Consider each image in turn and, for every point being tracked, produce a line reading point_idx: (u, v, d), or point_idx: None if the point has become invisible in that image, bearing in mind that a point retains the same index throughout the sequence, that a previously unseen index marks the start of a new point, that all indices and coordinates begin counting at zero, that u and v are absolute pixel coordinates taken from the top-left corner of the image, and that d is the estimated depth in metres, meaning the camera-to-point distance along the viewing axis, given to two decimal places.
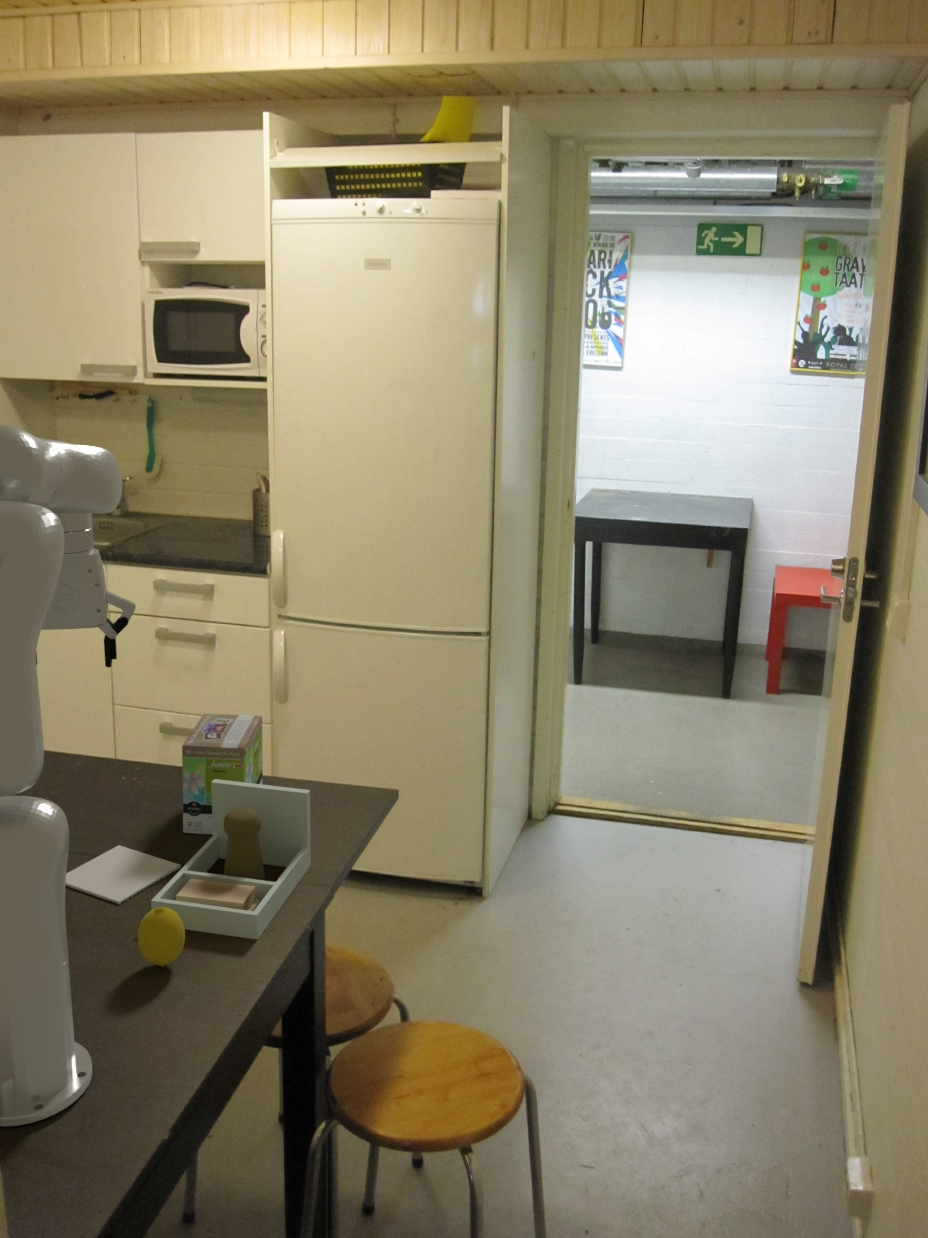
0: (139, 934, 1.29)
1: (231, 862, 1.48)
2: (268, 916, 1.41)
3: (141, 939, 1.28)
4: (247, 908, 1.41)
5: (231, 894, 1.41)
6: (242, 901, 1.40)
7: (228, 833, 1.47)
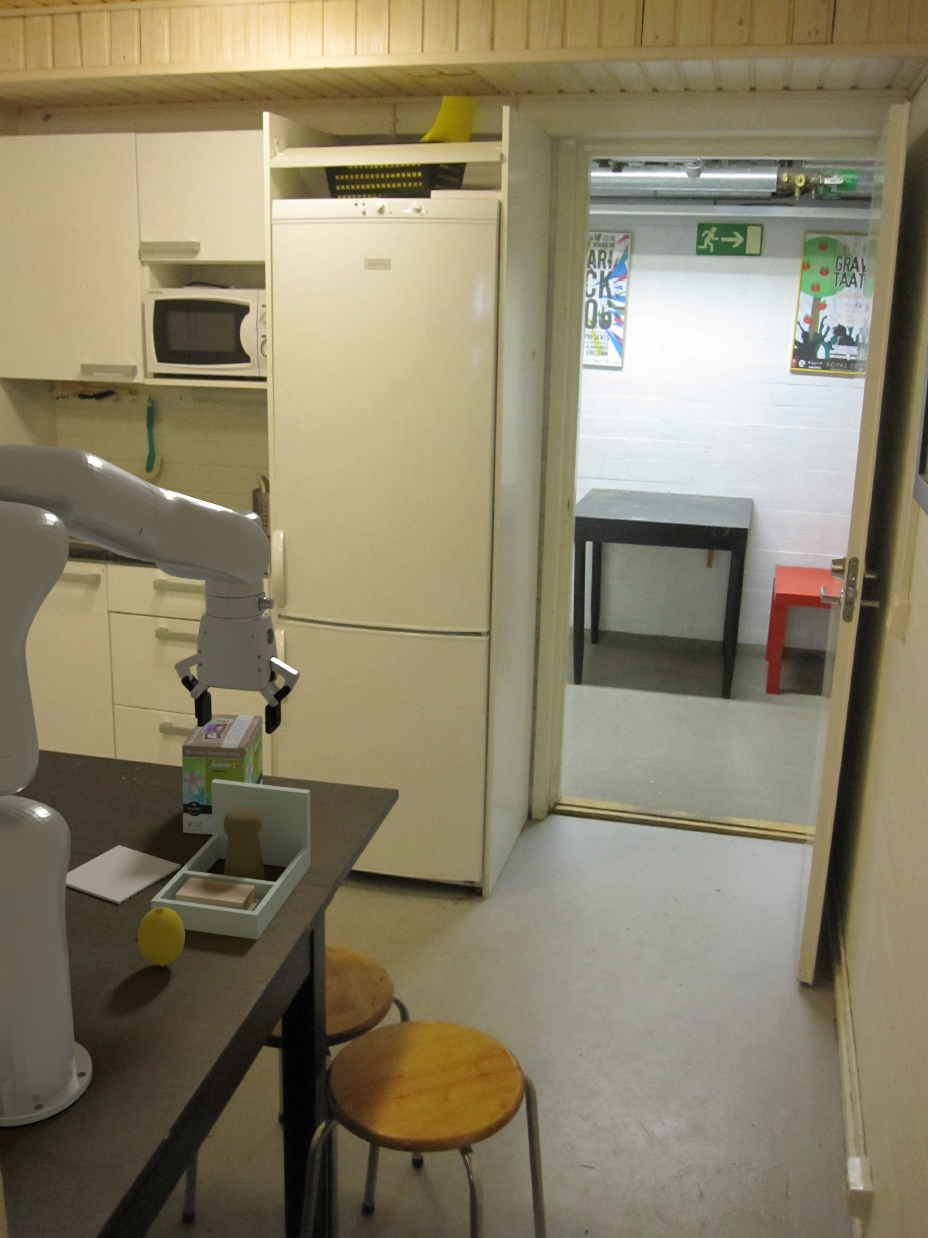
0: (139, 934, 1.29)
1: (231, 862, 1.48)
2: (268, 916, 1.41)
3: (141, 939, 1.28)
4: (246, 908, 1.41)
5: (230, 893, 1.41)
6: (241, 900, 1.40)
7: (228, 833, 1.47)
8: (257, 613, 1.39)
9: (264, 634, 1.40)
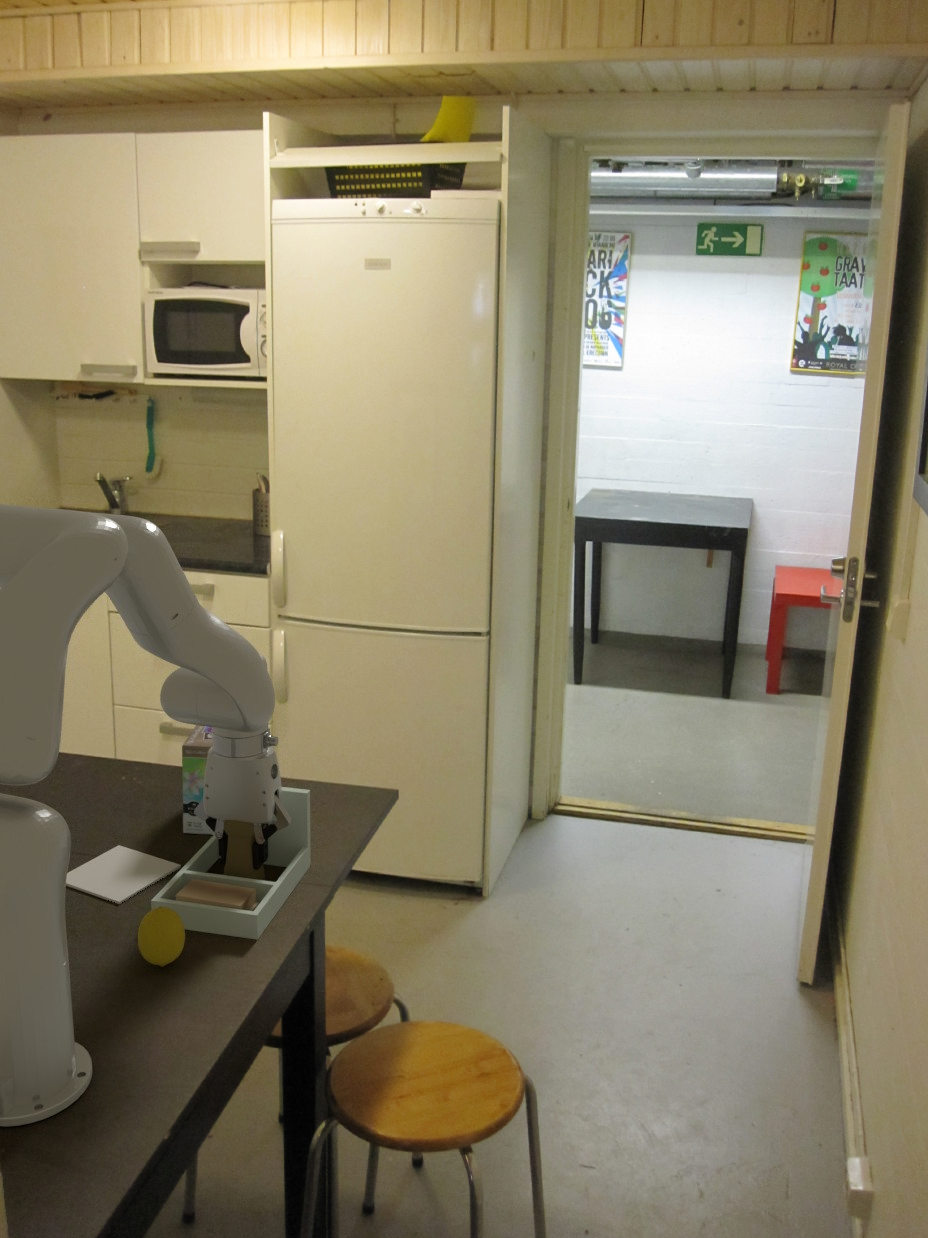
0: (139, 934, 1.29)
1: (231, 862, 1.48)
2: (268, 916, 1.41)
3: (141, 939, 1.28)
4: None
5: (230, 895, 1.41)
6: (240, 903, 1.39)
7: (228, 833, 1.47)
8: (262, 751, 1.44)
9: (269, 771, 1.45)
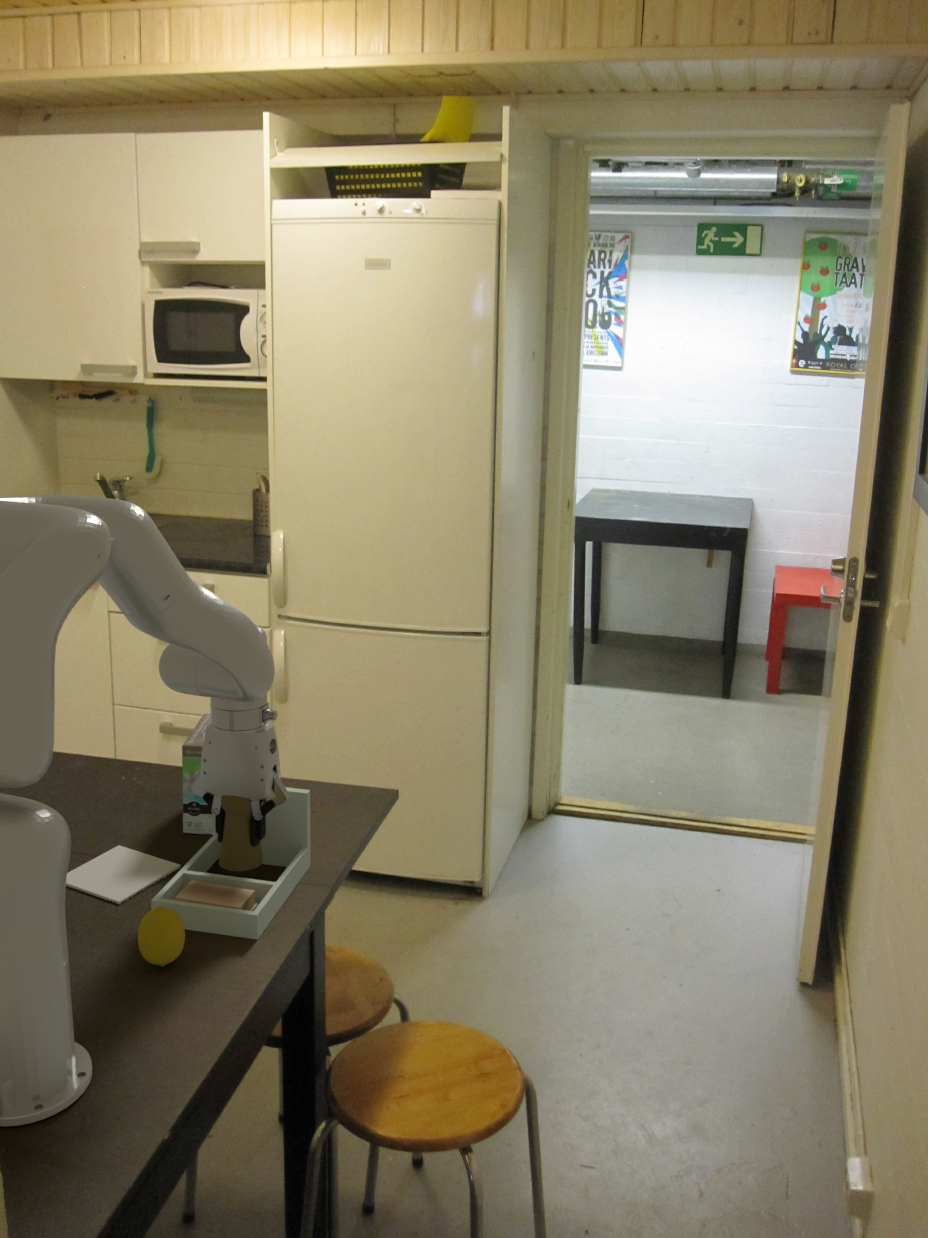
0: (139, 934, 1.29)
1: (228, 838, 1.47)
2: (268, 916, 1.41)
3: (141, 939, 1.28)
4: None
5: (229, 897, 1.41)
6: (239, 905, 1.39)
7: (225, 808, 1.46)
8: (261, 725, 1.43)
9: (267, 745, 1.43)
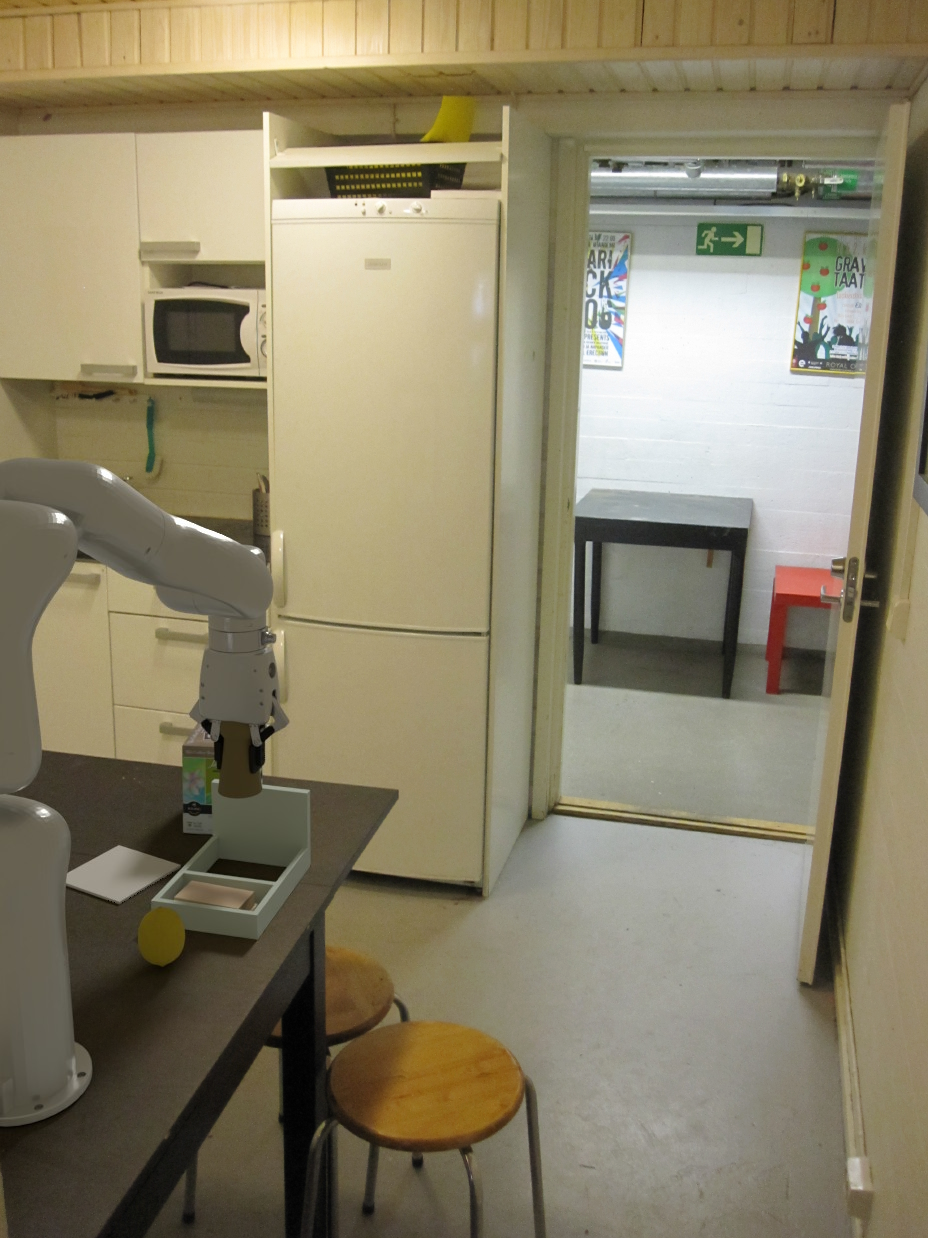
0: (139, 934, 1.29)
1: (226, 765, 1.44)
2: (268, 916, 1.41)
3: (141, 939, 1.28)
4: None
5: (228, 898, 1.40)
6: (238, 906, 1.39)
7: (224, 734, 1.43)
8: (259, 647, 1.40)
9: (266, 668, 1.41)
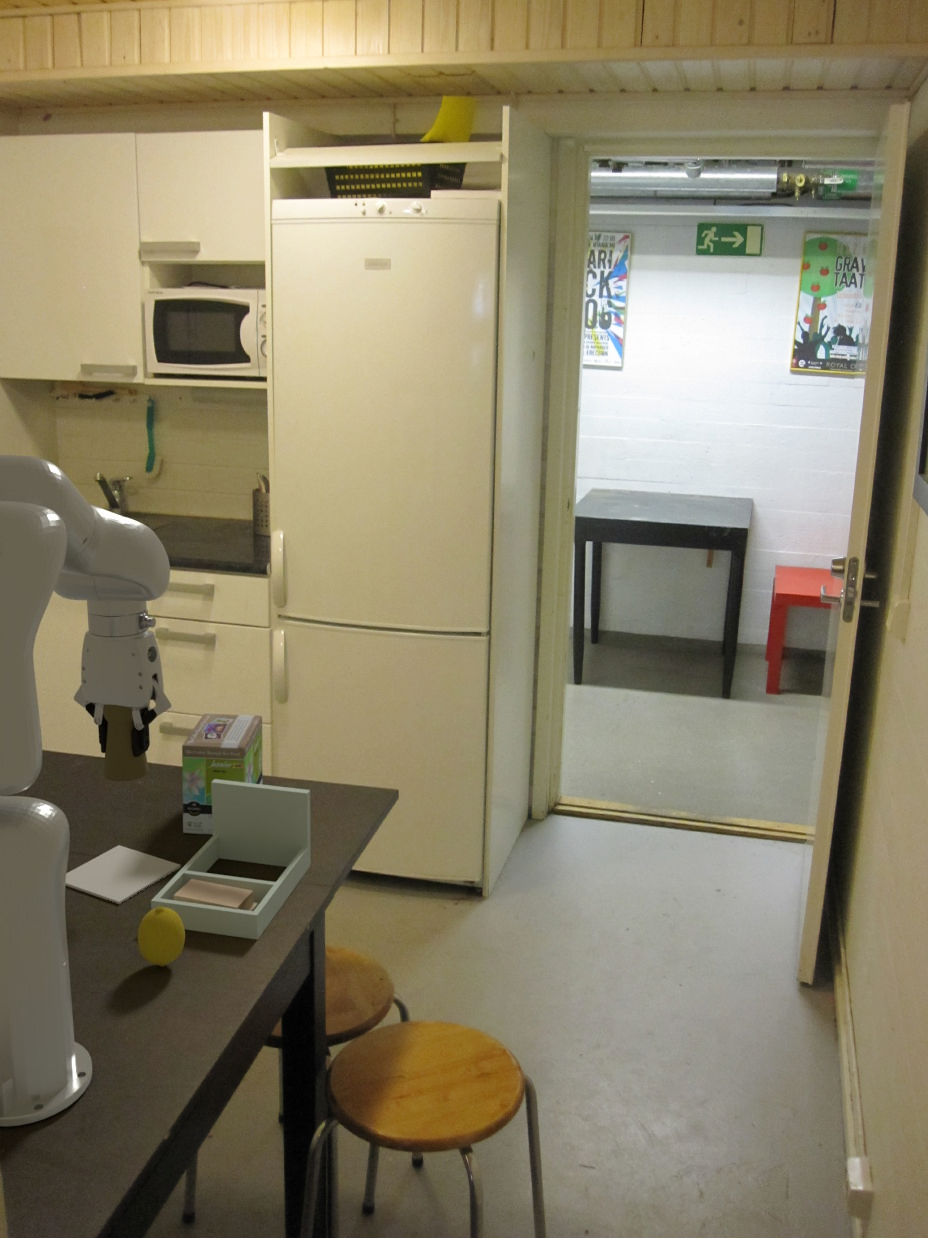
0: (139, 934, 1.29)
1: (110, 748, 1.45)
2: (268, 916, 1.41)
3: (141, 939, 1.28)
4: None
5: (227, 897, 1.41)
6: (236, 905, 1.39)
7: (106, 717, 1.44)
8: (138, 631, 1.41)
9: (145, 652, 1.42)
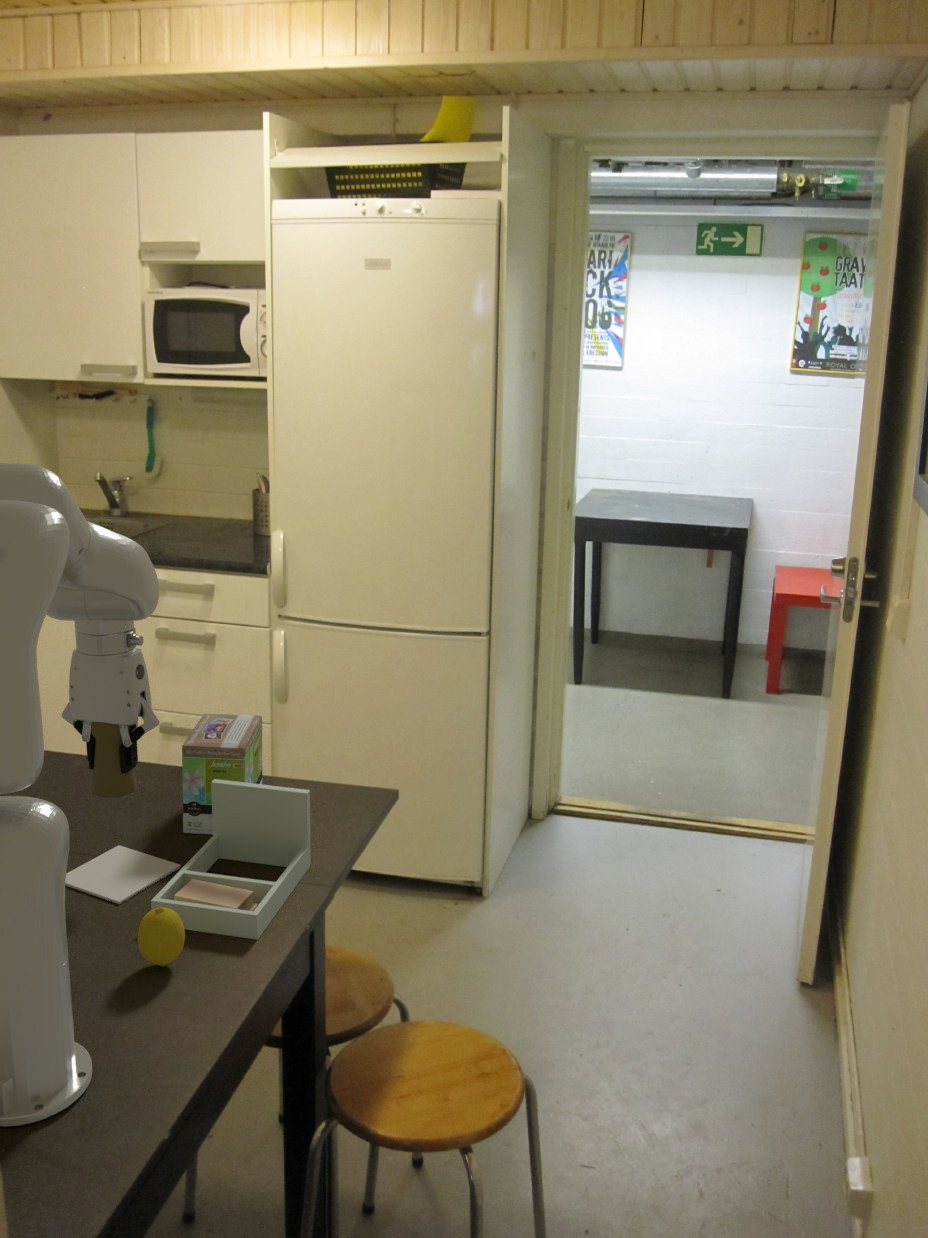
0: (139, 934, 1.29)
1: (98, 765, 1.46)
2: (268, 916, 1.41)
3: (141, 939, 1.28)
4: None
5: (227, 897, 1.41)
6: (236, 906, 1.39)
7: (94, 735, 1.45)
8: (126, 650, 1.42)
9: (133, 670, 1.42)
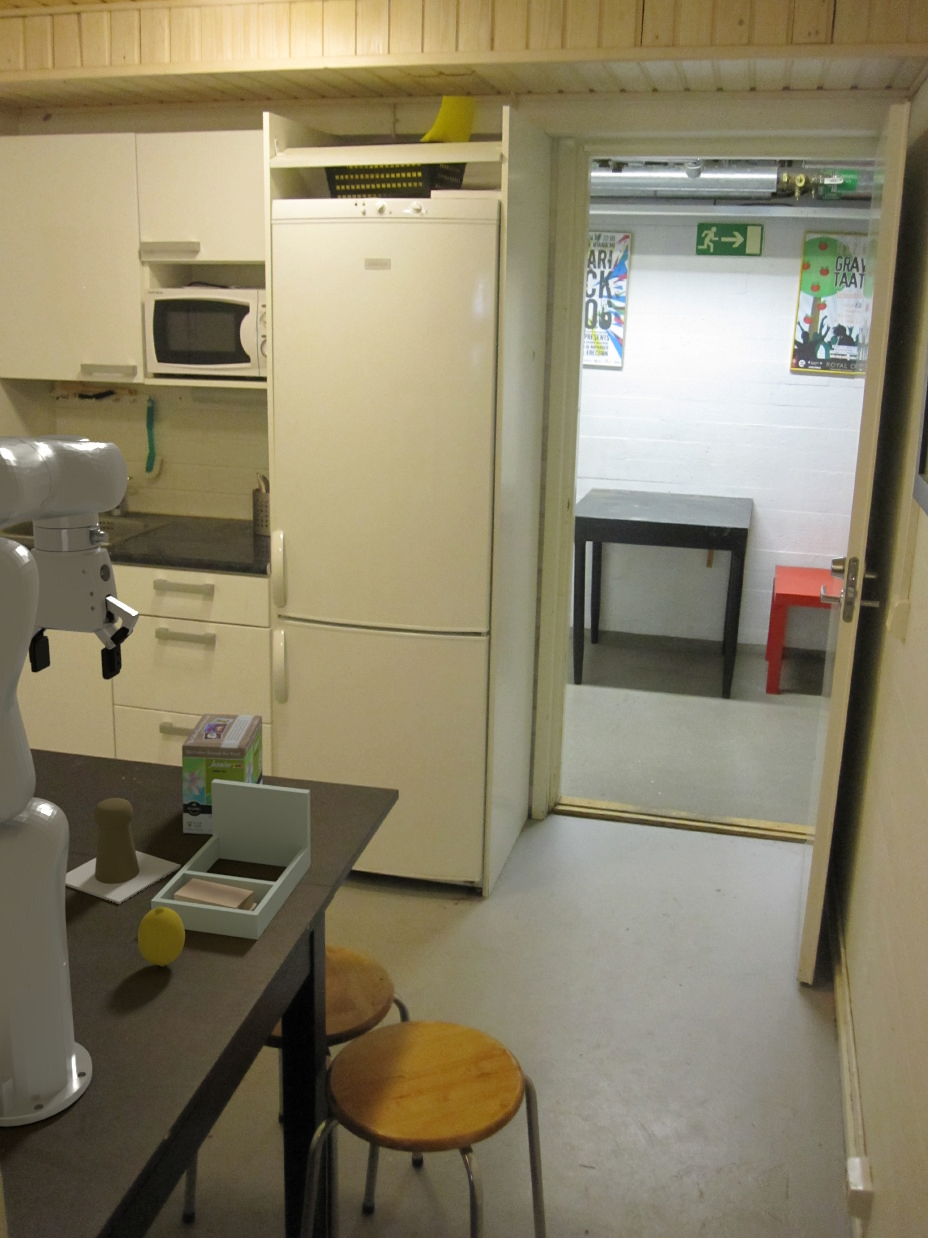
0: (139, 934, 1.29)
1: (101, 851, 1.49)
2: (268, 916, 1.41)
3: (141, 939, 1.28)
4: None
5: (227, 897, 1.41)
6: (235, 905, 1.39)
7: (97, 822, 1.48)
8: (89, 547, 1.28)
9: (97, 570, 1.29)
